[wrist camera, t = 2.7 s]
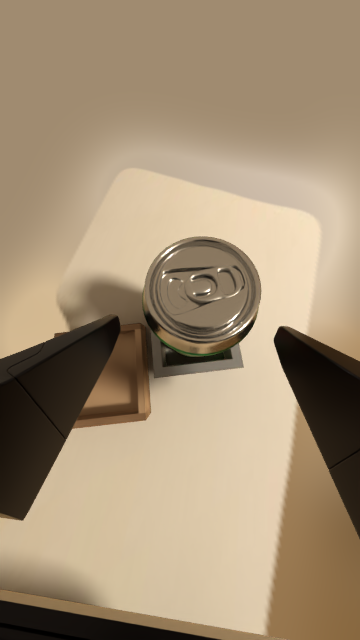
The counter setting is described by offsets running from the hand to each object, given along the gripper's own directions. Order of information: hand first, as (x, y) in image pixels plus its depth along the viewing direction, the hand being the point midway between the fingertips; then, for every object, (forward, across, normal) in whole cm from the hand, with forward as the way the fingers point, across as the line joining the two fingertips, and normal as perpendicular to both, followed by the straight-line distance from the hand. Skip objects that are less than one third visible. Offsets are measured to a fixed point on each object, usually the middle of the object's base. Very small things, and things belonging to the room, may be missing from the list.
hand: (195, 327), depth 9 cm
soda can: (+7, 0, +6) cm, 9 cm away
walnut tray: (+3, +9, +9) cm, 13 cm away
